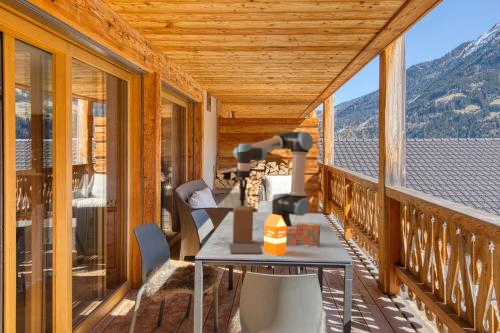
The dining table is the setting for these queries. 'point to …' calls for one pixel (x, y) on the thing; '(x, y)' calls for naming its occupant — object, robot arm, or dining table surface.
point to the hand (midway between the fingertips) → (241, 211)
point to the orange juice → (275, 235)
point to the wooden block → (242, 224)
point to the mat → (245, 248)
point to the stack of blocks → (303, 234)
